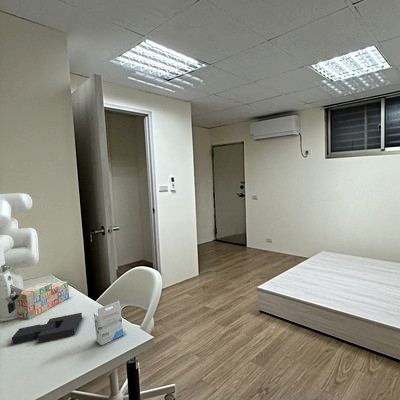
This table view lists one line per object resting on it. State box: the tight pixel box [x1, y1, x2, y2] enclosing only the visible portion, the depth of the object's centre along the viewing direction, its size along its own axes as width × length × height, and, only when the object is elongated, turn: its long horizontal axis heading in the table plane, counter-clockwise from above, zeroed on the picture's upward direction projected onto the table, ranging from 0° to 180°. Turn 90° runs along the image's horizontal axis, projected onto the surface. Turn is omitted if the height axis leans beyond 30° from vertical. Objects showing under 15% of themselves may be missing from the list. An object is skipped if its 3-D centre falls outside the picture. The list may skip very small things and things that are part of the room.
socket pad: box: [37, 312, 83, 344], centre depth 113 cm, size 12×14×3 cm
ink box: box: [93, 300, 124, 346], centre depth 105 cm, size 8×5×15 cm, turn 140°
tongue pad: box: [11, 322, 57, 345], centre depth 109 cm, size 12×7×3 cm, turn 112°
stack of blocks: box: [16, 280, 70, 320], centre depth 133 cm, size 21×6×12 cm, turn 168°
